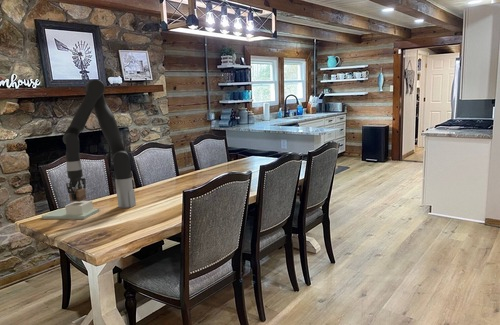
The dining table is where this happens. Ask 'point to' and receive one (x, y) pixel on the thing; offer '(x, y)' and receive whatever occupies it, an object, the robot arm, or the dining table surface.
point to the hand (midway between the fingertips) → (78, 198)
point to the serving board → (62, 215)
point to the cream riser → (79, 208)
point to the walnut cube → (79, 195)
